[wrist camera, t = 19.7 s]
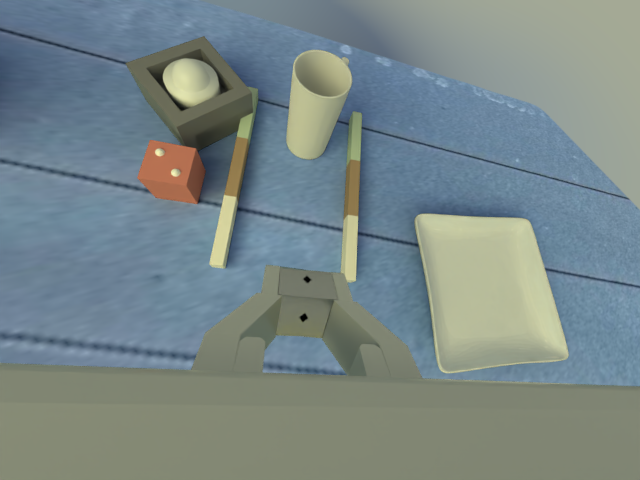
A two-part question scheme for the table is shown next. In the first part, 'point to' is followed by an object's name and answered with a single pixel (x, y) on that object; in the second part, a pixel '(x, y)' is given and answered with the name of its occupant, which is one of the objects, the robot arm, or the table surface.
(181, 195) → the die
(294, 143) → the mug
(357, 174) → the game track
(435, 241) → the salad plate
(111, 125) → the table surface
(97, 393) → the robot arm
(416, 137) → the table surface
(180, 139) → the dome housing
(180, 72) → the pop dome
